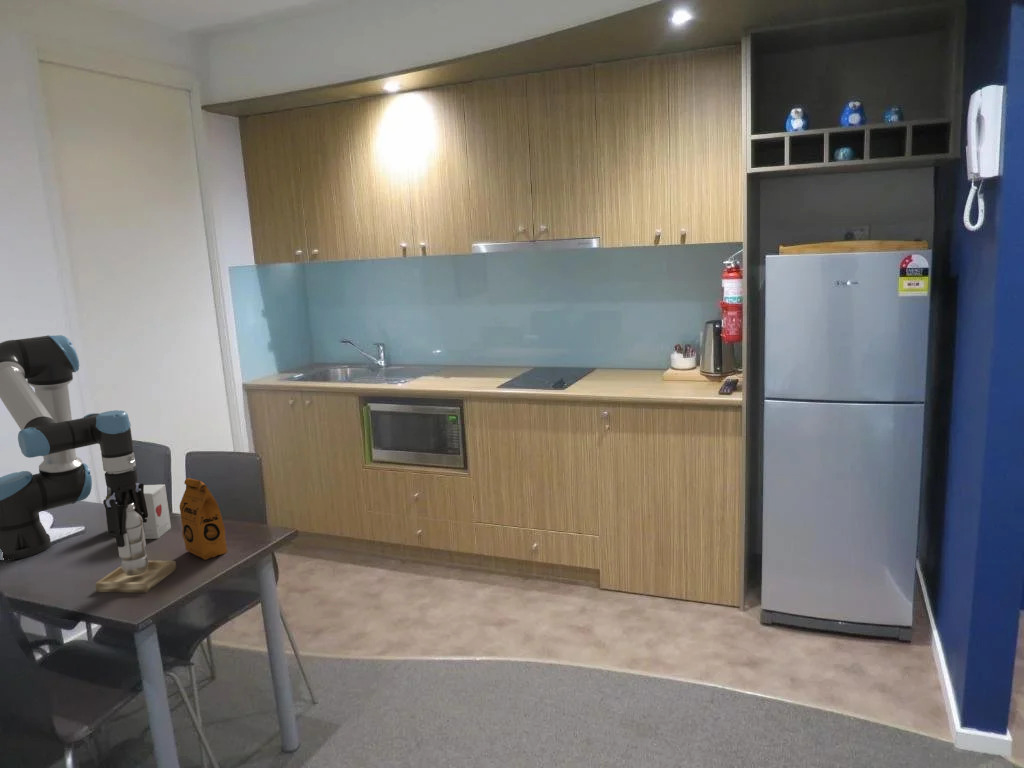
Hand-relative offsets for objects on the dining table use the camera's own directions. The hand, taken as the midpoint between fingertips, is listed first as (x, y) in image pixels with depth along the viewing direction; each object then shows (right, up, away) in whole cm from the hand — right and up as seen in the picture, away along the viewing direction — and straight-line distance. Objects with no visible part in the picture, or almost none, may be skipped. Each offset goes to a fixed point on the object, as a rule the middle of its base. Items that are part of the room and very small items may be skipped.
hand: (133, 551), depth 196 cm
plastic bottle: (0, -6, +1) cm, 7 cm away
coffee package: (+12, -5, +18) cm, 22 cm away
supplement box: (-12, -2, +34) cm, 36 cm away
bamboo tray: (0, -8, +2) cm, 8 cm away
